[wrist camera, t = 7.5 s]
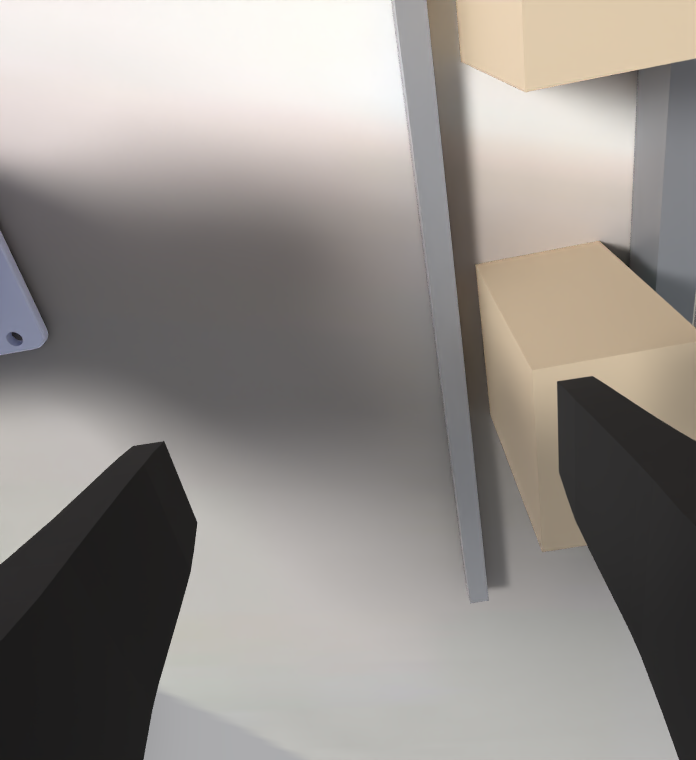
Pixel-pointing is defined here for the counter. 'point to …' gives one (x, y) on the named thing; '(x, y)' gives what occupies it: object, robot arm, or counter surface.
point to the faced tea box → (572, 38)
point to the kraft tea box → (575, 361)
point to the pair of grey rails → (647, 247)
